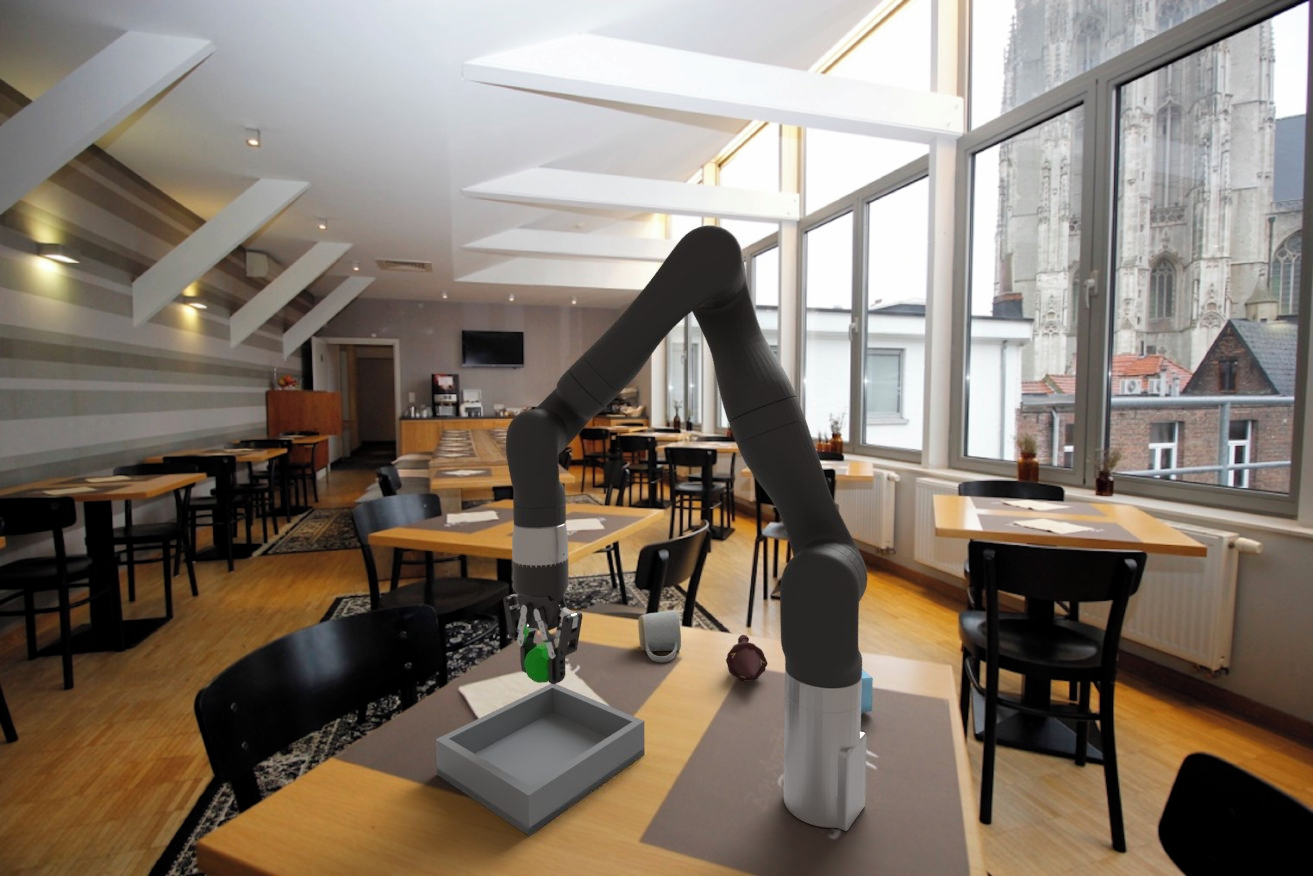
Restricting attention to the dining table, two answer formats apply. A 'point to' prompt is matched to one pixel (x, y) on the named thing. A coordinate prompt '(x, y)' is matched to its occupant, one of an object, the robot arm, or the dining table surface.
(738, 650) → the icecream
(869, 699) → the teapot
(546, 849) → the dining table surface
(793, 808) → the robot arm
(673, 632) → the ceramic mug
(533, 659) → the polyhedron
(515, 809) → the crate
